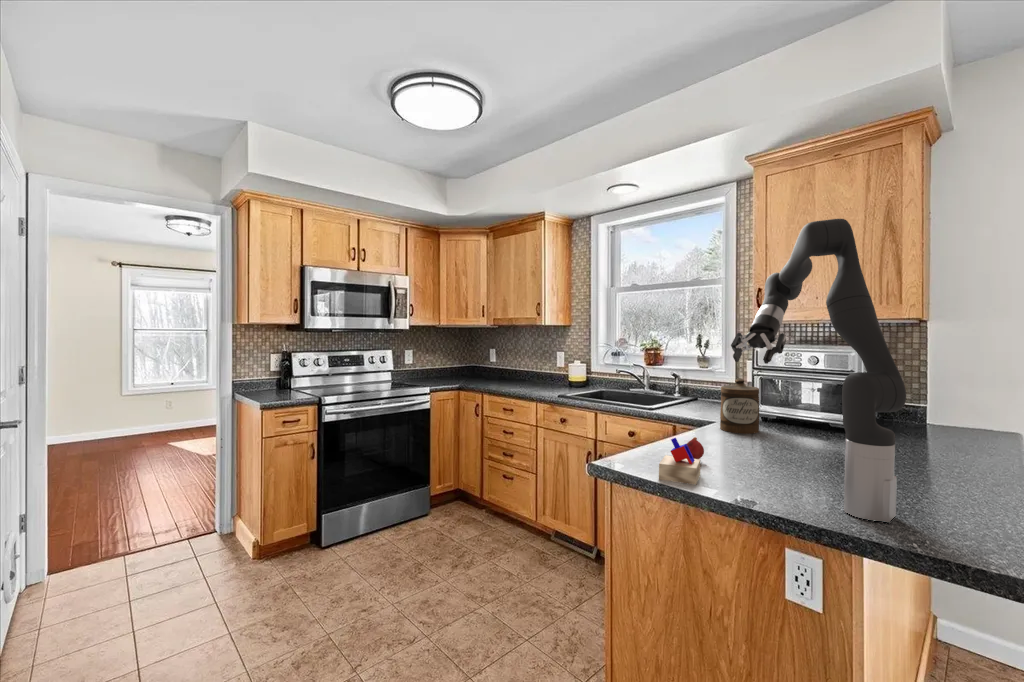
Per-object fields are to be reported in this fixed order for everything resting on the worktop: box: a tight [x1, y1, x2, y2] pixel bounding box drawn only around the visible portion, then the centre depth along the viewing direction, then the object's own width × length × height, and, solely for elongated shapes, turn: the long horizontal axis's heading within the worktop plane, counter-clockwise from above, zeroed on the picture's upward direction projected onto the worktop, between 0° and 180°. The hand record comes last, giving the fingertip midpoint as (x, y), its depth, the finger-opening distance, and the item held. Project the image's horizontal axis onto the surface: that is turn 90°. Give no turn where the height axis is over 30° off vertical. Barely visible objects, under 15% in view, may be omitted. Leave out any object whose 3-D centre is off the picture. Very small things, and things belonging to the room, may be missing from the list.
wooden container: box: [719, 377, 760, 435], centre depth 204 cm, size 15×15×22 cm
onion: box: [686, 436, 705, 460], centre depth 157 cm, size 6×6×8 cm
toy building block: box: [670, 437, 695, 464], centre depth 141 cm, size 4×4×8 cm
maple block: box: [658, 454, 701, 486], centre depth 141 cm, size 10×10×5 cm
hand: (750, 360), depth 143 cm, fingers open, 8 cm apart
